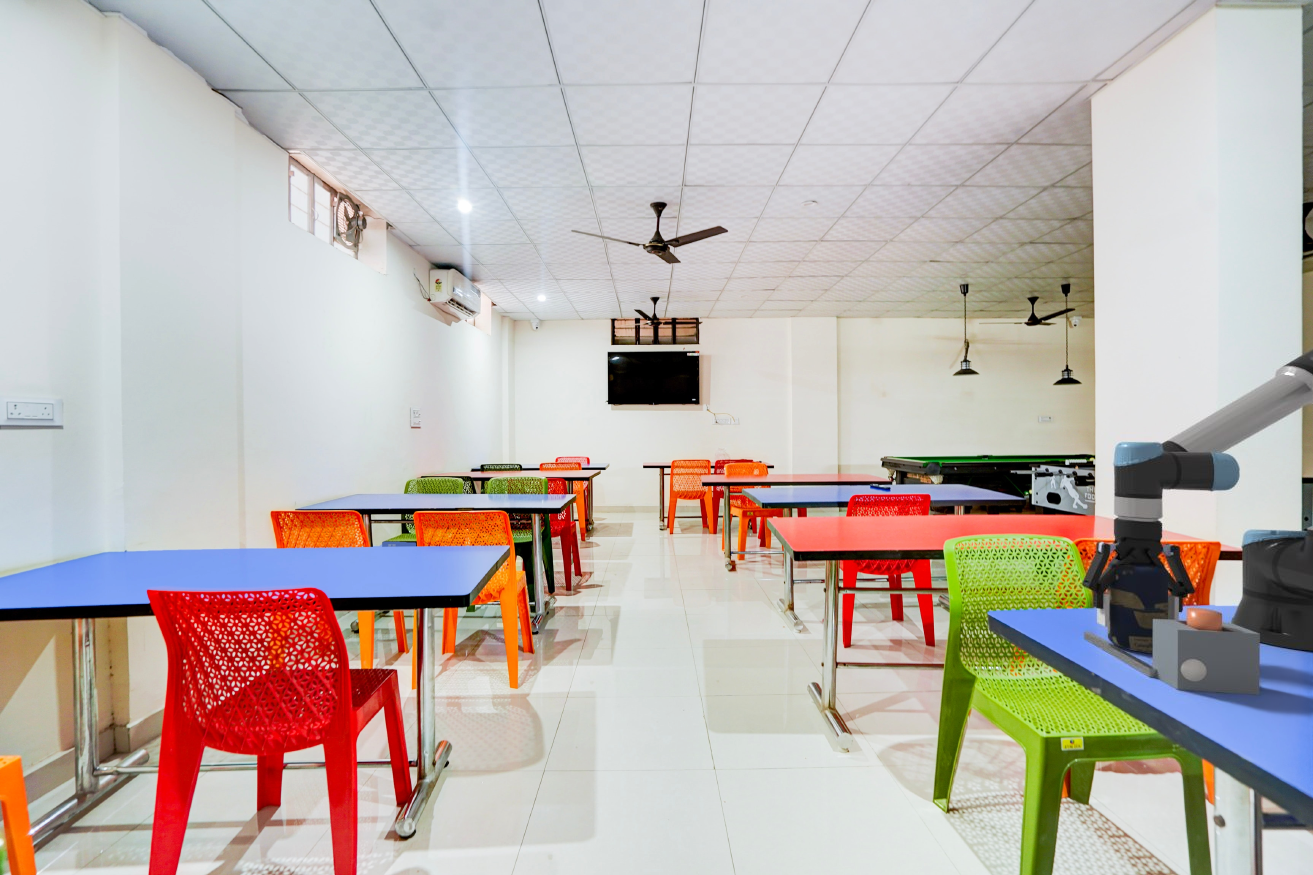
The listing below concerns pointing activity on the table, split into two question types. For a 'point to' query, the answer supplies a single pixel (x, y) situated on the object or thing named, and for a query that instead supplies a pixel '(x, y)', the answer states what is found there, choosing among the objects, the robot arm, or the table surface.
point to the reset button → (1204, 619)
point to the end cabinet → (1207, 657)
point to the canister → (1137, 605)
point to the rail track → (1121, 654)
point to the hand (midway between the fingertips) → (1137, 626)
